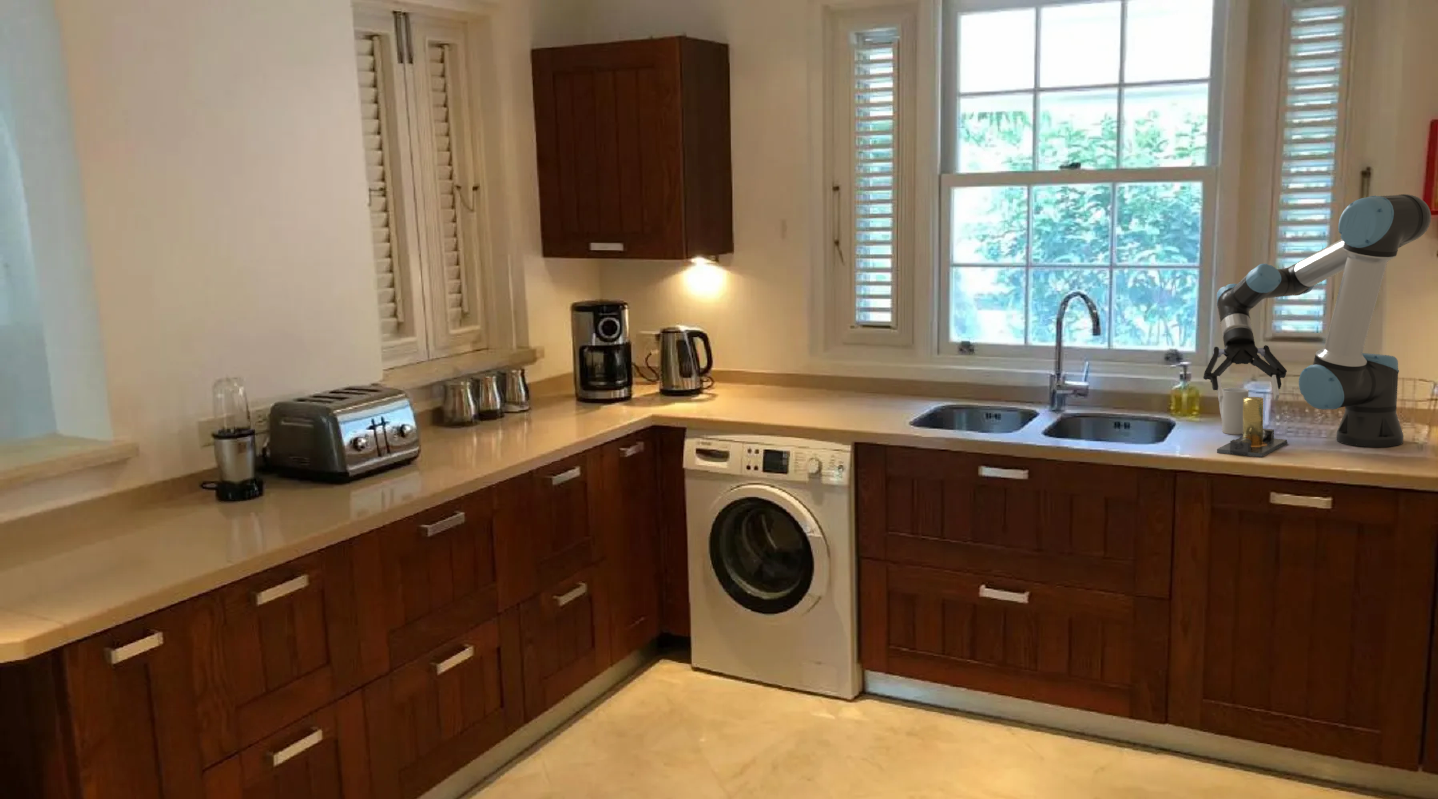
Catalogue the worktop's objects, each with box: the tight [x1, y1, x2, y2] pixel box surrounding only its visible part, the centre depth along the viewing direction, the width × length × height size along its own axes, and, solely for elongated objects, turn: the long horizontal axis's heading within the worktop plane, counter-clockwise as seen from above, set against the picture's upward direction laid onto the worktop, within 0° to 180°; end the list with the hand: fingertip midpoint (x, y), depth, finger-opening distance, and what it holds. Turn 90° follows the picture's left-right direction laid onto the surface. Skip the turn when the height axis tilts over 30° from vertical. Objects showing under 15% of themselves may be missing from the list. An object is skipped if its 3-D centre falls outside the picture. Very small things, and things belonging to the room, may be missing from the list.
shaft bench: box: [1216, 428, 1288, 458], centre depth 301 cm, size 19×11×3 cm, turn 136°
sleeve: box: [1242, 396, 1264, 446], centre depth 300 cm, size 5×5×12 cm
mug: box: [1218, 387, 1250, 436], centre depth 321 cm, size 10×7×12 cm, turn 11°
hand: (1248, 398), depth 302 cm, fingers open, 13 cm apart
